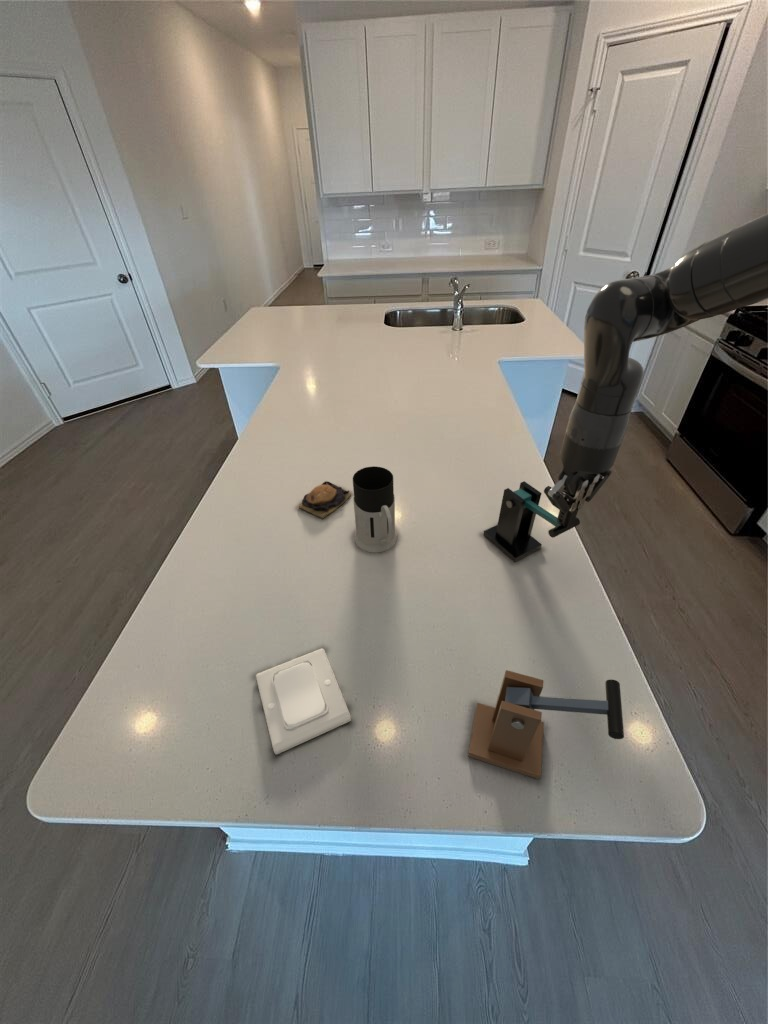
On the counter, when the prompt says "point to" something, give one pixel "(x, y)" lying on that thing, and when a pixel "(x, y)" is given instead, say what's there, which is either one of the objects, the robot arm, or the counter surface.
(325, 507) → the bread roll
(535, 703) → the near lever
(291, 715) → the light switch
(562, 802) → the counter surface
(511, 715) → the near bracket
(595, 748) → the counter surface
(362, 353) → the counter surface
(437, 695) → the counter surface
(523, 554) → the far bracket
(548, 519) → the far lever
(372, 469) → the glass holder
